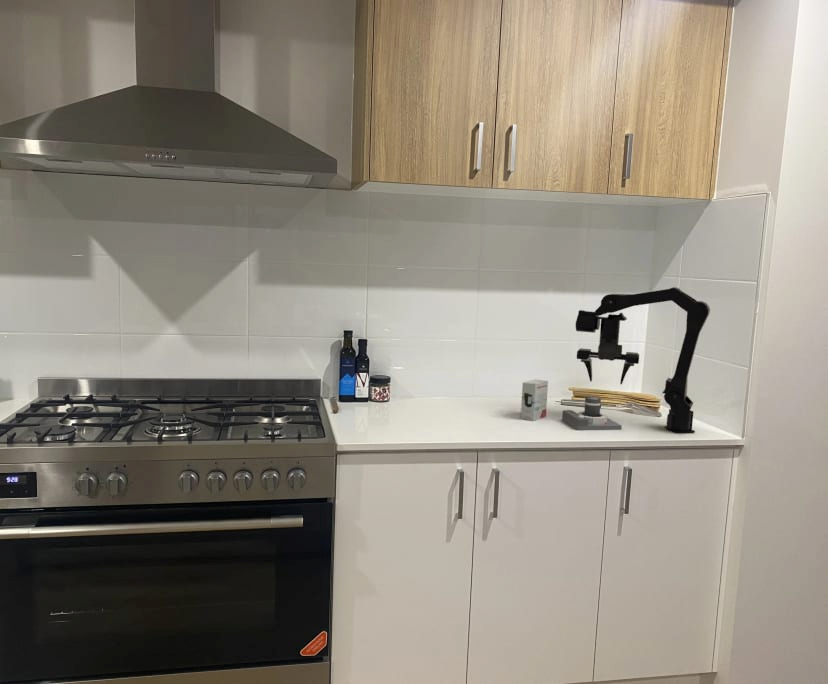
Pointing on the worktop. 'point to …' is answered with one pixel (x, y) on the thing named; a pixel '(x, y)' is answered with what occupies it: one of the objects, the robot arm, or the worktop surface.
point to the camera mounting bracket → (589, 421)
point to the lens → (592, 407)
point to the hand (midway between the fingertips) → (605, 382)
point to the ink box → (534, 399)
